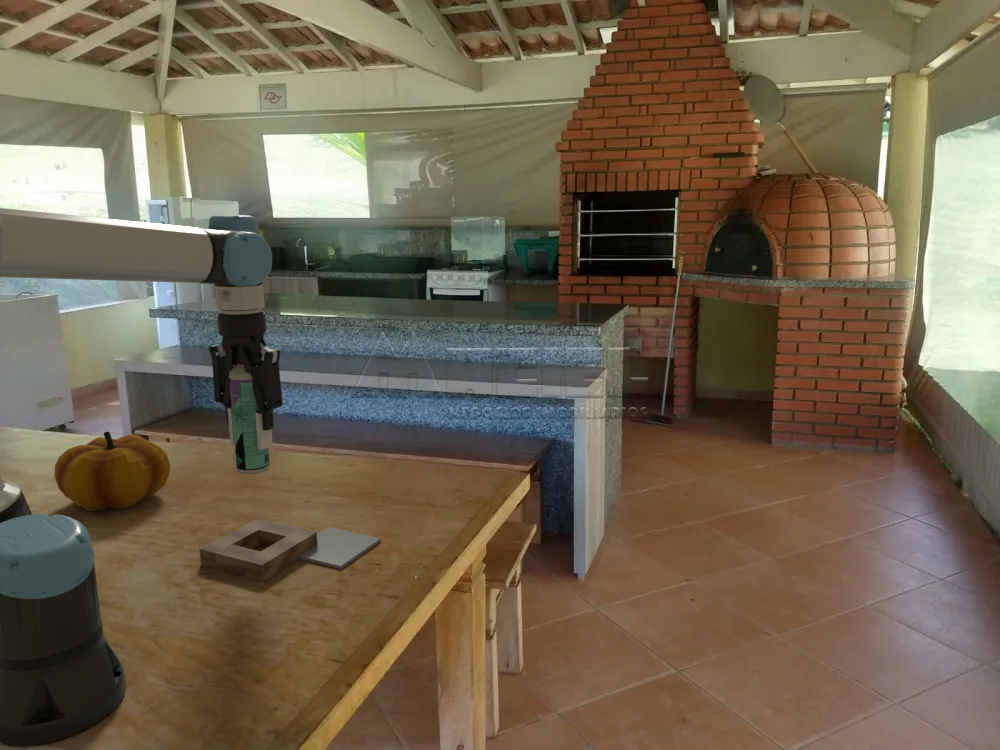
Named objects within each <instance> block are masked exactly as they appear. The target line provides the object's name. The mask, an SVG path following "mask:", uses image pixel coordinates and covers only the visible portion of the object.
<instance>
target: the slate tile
mask: <svg viewBox="0 0 1000 750" xmlns="http://www.w3.org/2000/svg"><path fill="white" fill-rule="evenodd" d="M381 541H382V538H381V537H378V536H372V535H367V534H363V533H362V534H361V533H358V532H353V531H349V530H344V529H340V528H336V527H331V526H327V527H326V528H324V529H322V530H320V531H319V532H317V545H316V546H314V547H312V548H311V549H309V550H308V551H306V552H304V553H303V554H301V555H300V556H299V559H298V560H302V561H305V562H310V563H314V564H317V565H318V564H319V565H323V566H327V567H331V568H335V569H339V570H341V569H343V568H345V567H346V566H348V565H349V564H351V563H352V562H353V561H355V560H356V559H357V558H359V557H361V556H362V555H364V553H366V552H368V551H369V550H371V549H372V548H373V547H375V546H376V545H377V544H379V543H380V542H381Z"/></svg>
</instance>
